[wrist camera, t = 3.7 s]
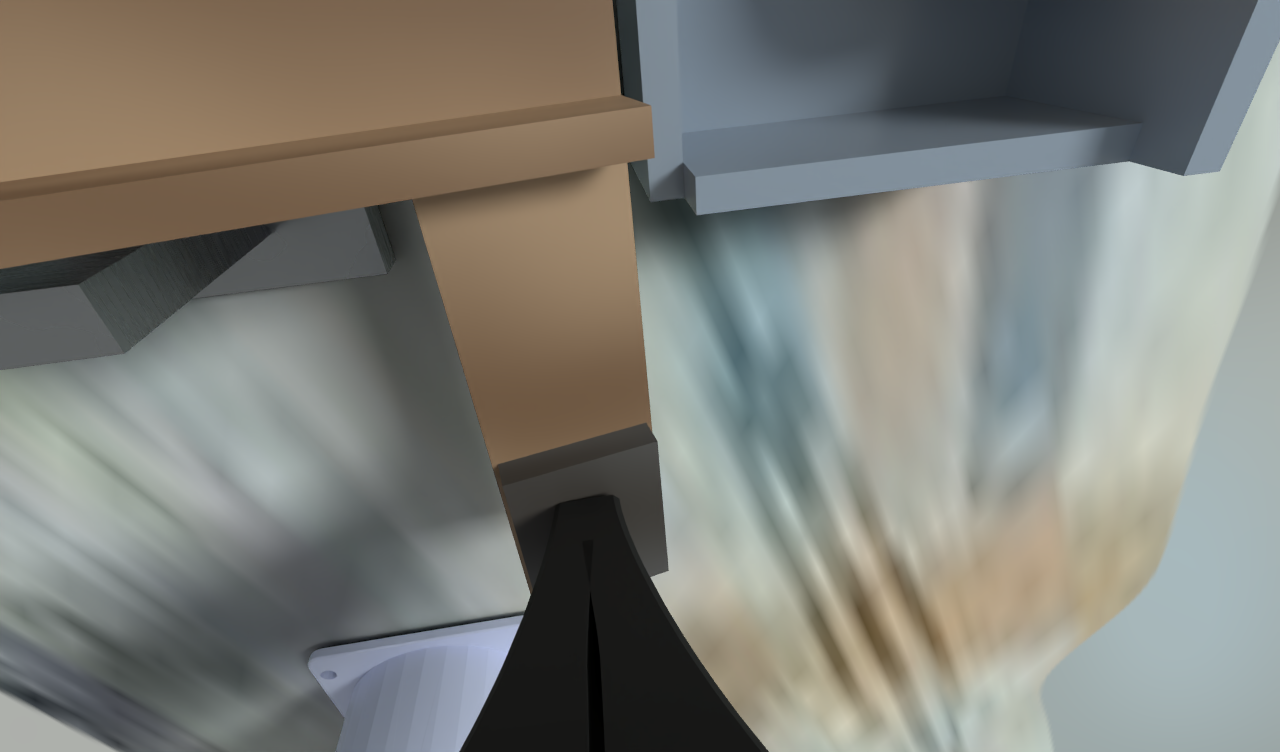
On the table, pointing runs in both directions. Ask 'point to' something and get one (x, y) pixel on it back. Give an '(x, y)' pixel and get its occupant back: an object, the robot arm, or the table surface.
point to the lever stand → (173, 282)
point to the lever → (375, 187)
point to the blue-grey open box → (931, 91)
